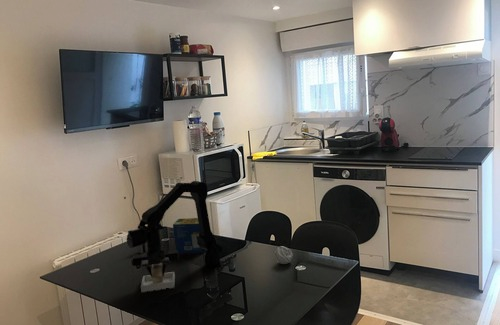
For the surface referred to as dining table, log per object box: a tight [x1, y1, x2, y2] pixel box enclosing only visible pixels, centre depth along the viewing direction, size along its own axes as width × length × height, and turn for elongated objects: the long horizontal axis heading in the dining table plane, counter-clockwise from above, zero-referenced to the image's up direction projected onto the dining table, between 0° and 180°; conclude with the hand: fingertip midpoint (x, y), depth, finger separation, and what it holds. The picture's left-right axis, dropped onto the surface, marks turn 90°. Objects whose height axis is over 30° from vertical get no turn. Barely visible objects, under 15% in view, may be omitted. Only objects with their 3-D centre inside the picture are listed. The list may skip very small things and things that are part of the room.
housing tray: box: [140, 271, 176, 293], centre depth 179 cm, size 13×11×2 cm
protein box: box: [172, 217, 205, 255], centre depth 218 cm, size 10×15×16 cm
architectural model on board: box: [137, 242, 148, 254], centre depth 225 cm, size 11×3×10 cm, turn 150°
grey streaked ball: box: [274, 245, 294, 265], centre depth 190 cm, size 8×8×8 cm
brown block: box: [151, 262, 163, 283], centre depth 178 cm, size 4×6×7 cm, turn 9°
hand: (158, 277), depth 178 cm, fingers closed on brown block, 4 cm apart
